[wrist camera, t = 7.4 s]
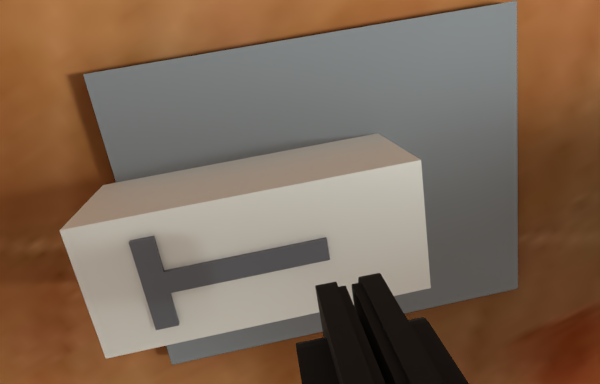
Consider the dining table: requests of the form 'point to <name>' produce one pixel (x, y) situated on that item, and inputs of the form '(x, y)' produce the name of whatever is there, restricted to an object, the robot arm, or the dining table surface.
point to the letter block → (246, 240)
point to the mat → (346, 133)
